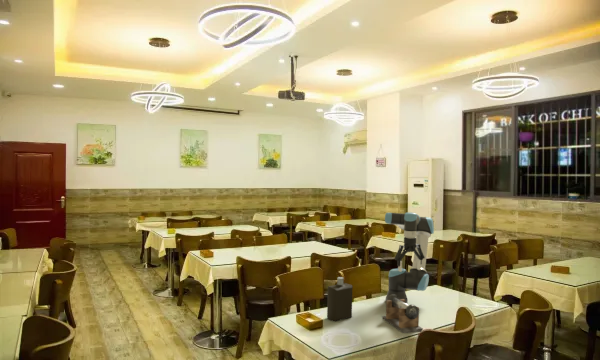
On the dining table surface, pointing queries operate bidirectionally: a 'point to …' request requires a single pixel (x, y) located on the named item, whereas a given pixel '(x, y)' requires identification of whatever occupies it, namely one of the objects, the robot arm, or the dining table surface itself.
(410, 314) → the dumbbell
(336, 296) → the bottle
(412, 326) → the rack
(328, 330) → the dining table surface
